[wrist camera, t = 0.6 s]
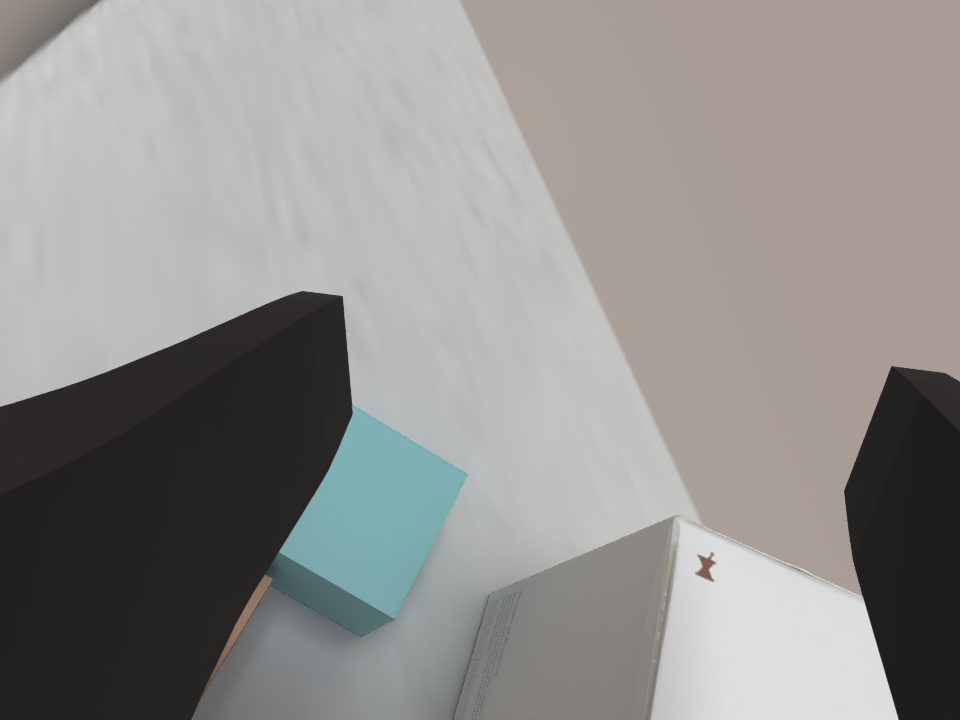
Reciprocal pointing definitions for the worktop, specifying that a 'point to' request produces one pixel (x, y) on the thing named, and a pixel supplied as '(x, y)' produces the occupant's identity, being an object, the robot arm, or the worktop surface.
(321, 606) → the teal cube
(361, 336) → the worktop surface
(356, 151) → the worktop surface
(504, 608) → the supplement box
